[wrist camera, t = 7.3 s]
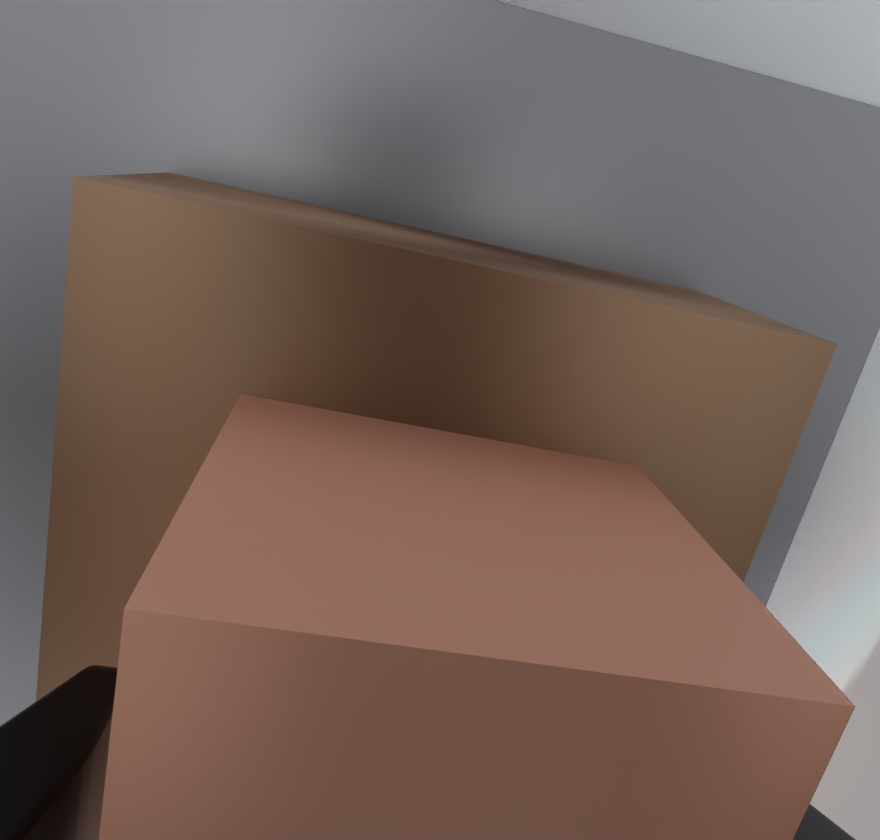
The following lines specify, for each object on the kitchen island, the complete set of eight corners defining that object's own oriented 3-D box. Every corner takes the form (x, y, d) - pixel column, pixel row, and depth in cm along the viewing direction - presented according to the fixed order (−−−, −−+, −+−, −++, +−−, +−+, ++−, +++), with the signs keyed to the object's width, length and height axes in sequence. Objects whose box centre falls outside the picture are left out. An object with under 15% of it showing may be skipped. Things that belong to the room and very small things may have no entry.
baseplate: (918, 132, 13) (959, 129, 13) (649, 817, 18) (664, 853, 17) (-34, -130, 11) (-72, -158, 10) (-58, 744, 16) (-84, 782, 15)
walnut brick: (700, 291, 13) (837, 343, 9) (562, 712, 16) (623, 885, 12) (168, 172, 12) (72, 176, 8) (116, 657, 14) (26, 833, 10)
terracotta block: (637, 465, 10) (854, 706, 5) (536, 774, 11) (644, 1157, 7) (241, 393, 9) (123, 609, 5) (189, 736, 10) (64, 1142, 6)
